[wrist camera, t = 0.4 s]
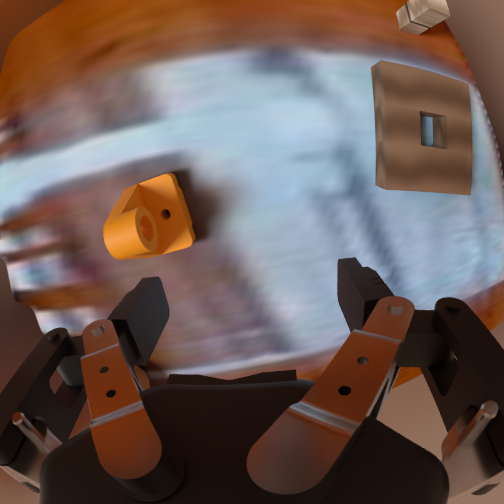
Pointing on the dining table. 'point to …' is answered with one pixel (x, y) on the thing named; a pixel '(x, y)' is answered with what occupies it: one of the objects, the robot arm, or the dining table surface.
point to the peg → (421, 15)
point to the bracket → (149, 220)
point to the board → (409, 130)
